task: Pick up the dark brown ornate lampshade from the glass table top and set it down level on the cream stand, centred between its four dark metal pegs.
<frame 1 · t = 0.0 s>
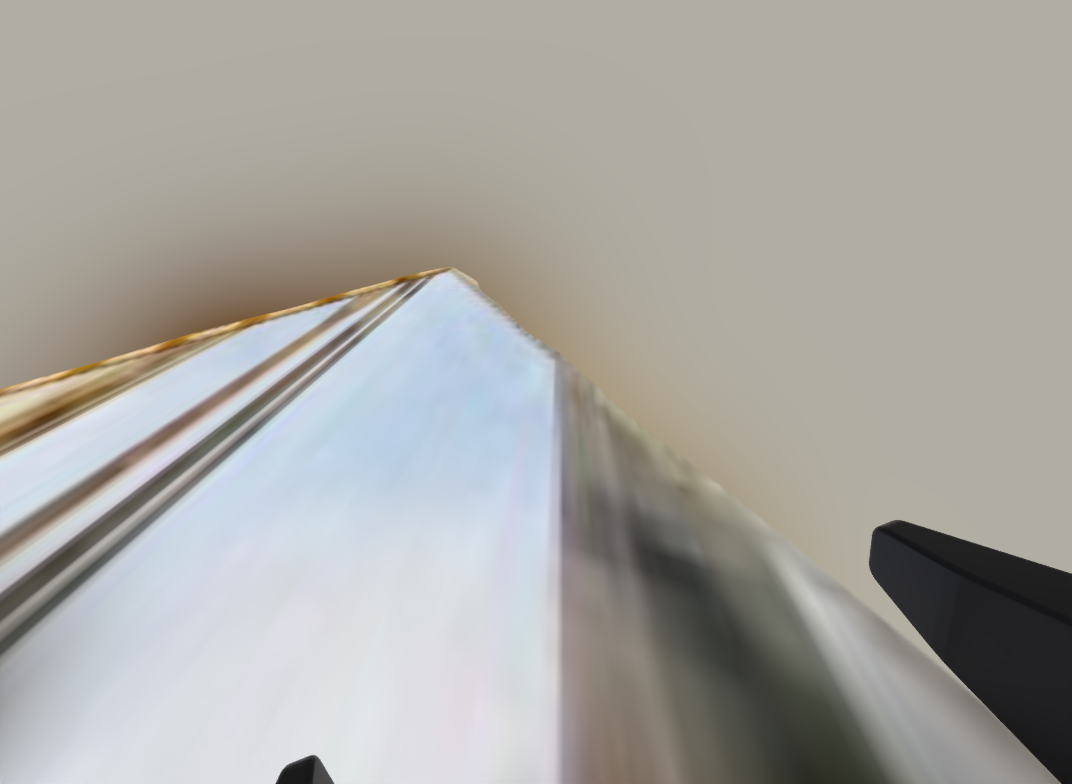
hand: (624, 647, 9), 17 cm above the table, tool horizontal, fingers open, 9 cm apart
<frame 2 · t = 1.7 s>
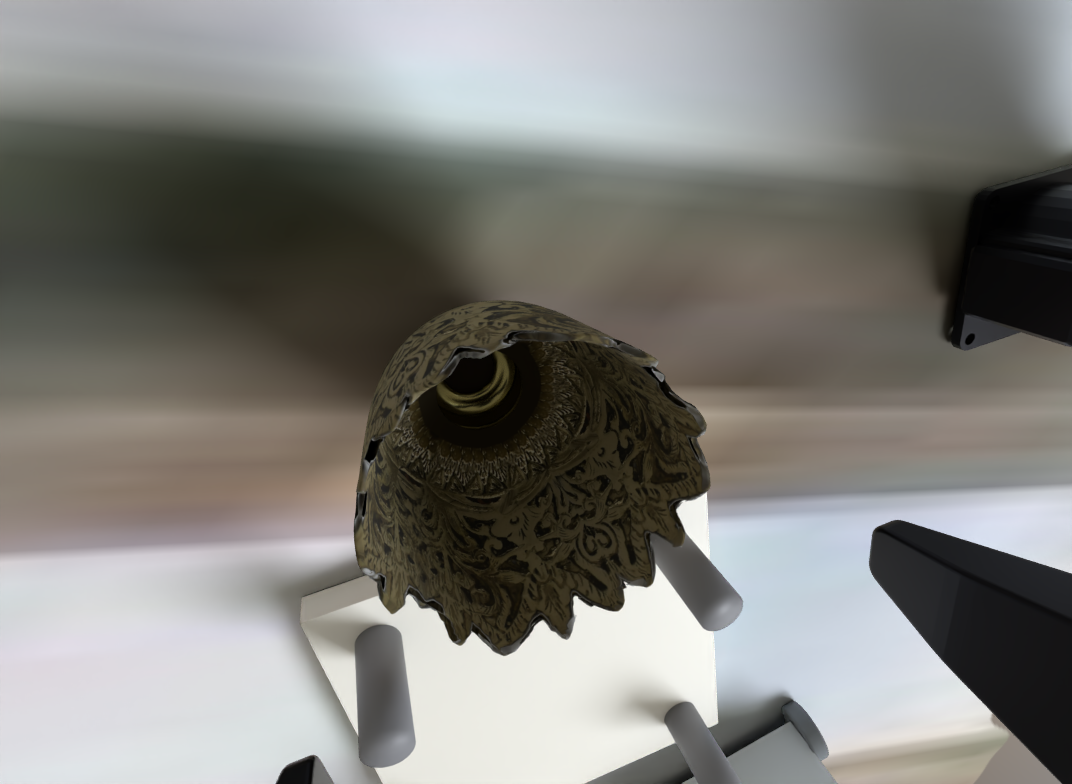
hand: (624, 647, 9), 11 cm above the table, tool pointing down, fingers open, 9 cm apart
dark brown ornate lampshade: (466, 366, 19), on the table
peg stand: (542, 660, 25), on the table
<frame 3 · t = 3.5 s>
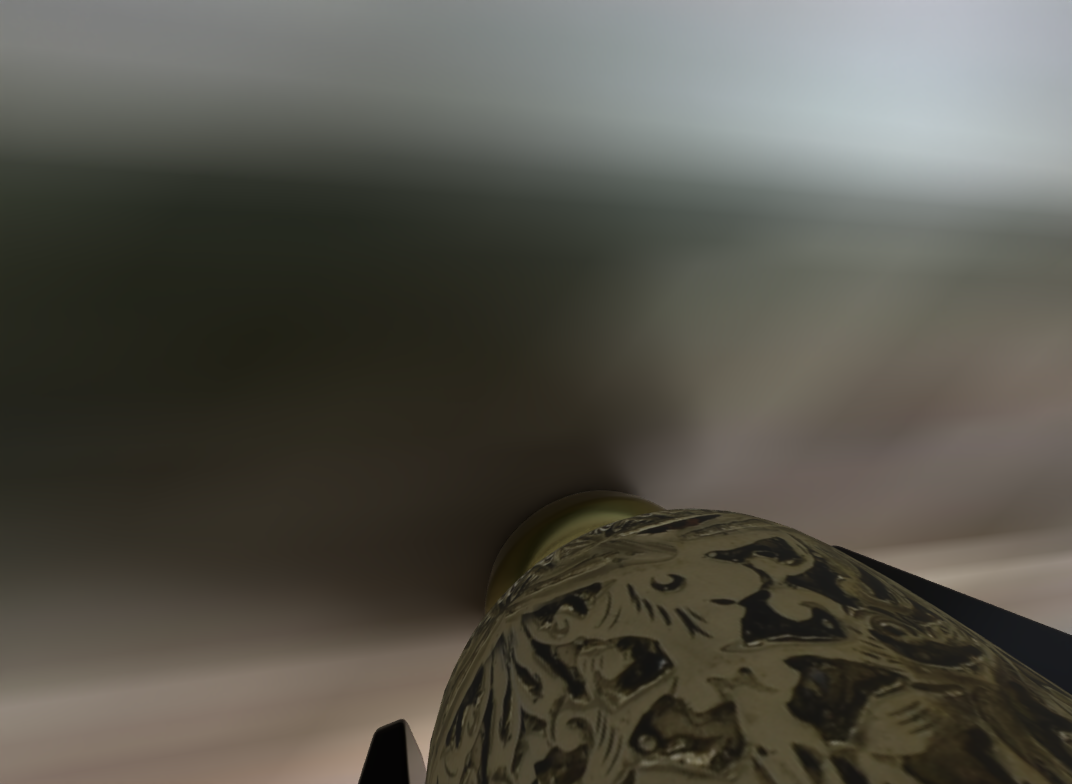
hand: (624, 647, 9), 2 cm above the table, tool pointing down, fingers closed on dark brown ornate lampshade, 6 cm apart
dark brown ornate lampshade: (570, 553, 11), on the table, touching gripper
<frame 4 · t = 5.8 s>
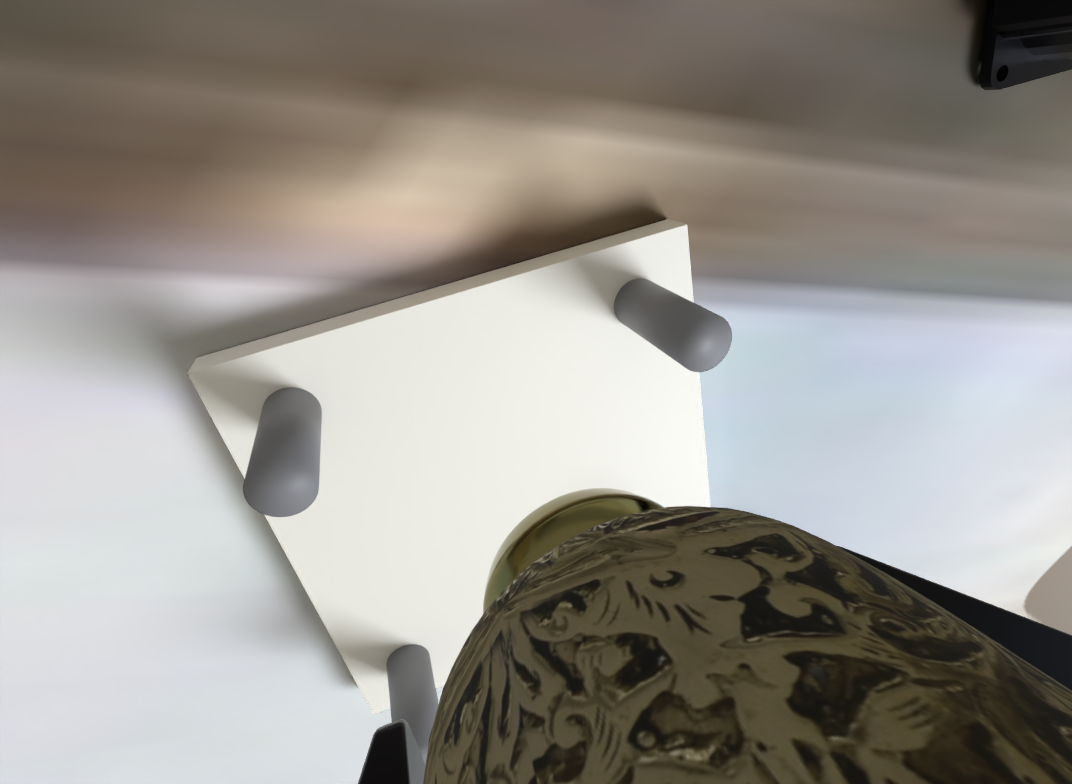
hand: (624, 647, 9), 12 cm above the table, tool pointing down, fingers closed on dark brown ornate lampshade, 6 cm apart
dark brown ornate lampshade: (569, 551, 11), point 10 cm above the table, touching gripper
peg stand: (505, 477, 22), on the table
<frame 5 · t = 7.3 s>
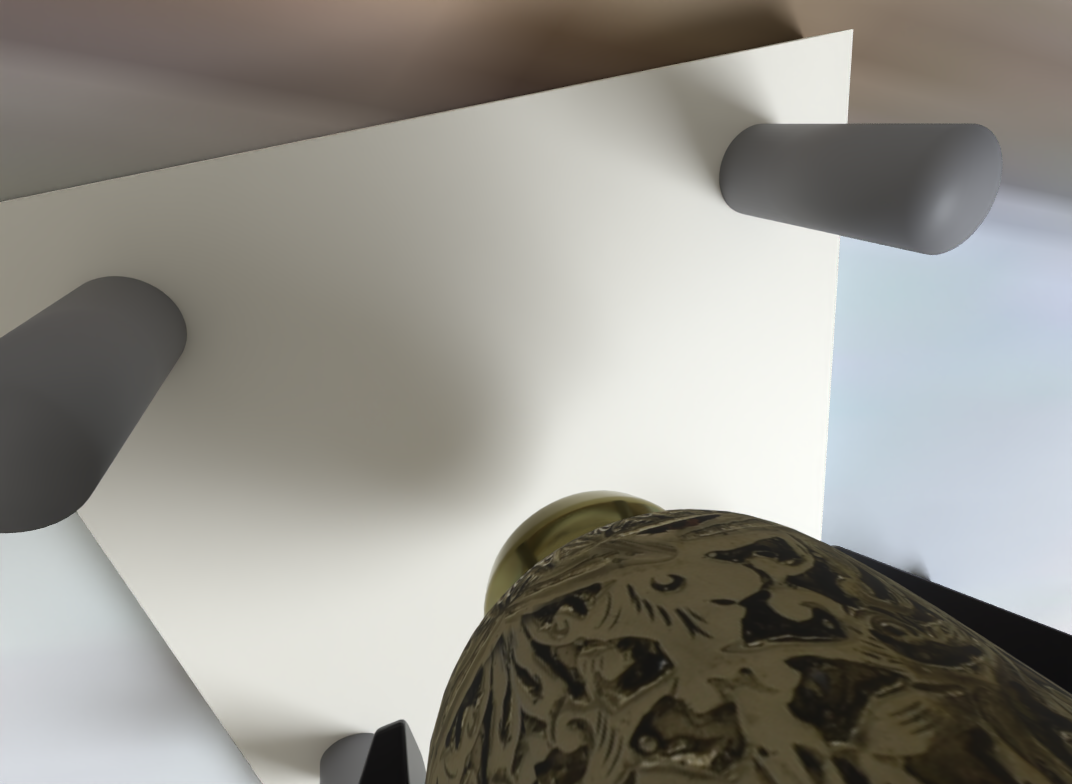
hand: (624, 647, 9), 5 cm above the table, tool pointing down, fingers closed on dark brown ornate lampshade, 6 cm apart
dark brown ornate lampshade: (570, 553, 11), point 3 cm above the table, touching gripper
peg stand: (517, 469, 14), on the table
when the fingers open (4 cm above the table, at t = 8.4 s): dark brown ornate lampshade drops 1 cm, resting on peg stand.
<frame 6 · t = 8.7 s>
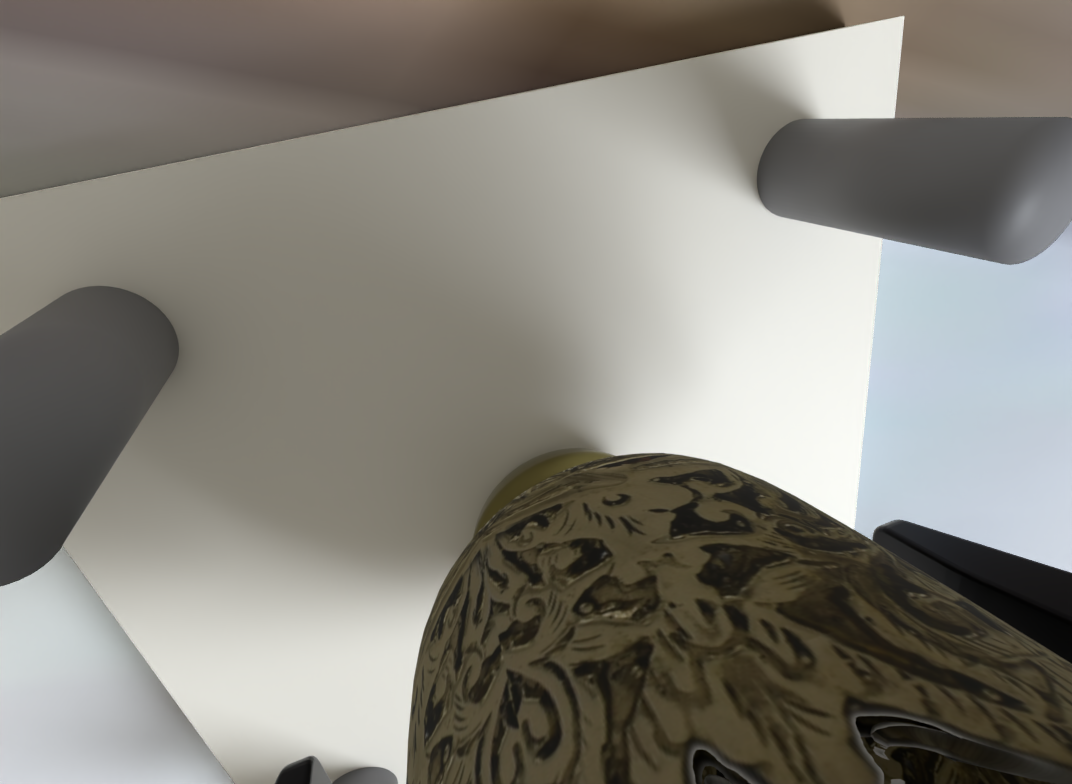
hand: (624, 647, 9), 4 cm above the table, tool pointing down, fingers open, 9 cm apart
dark brown ornate lampshade: (551, 509, 12), point 1 cm above the table, touching peg stand
peg stand: (533, 487, 13), on the table
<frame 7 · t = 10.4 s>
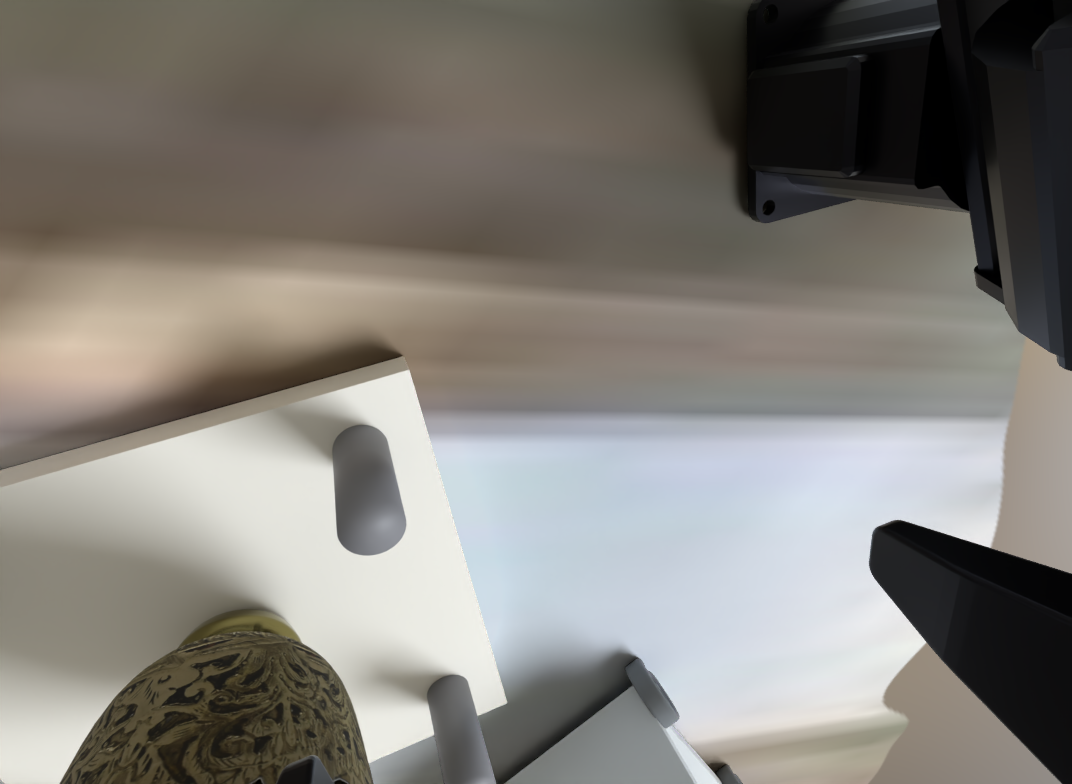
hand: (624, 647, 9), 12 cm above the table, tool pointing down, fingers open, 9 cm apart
dark brown ornate lampshade: (241, 640, 19), point 1 cm above the table, touching peg stand
peg stand: (244, 620, 20), on the table
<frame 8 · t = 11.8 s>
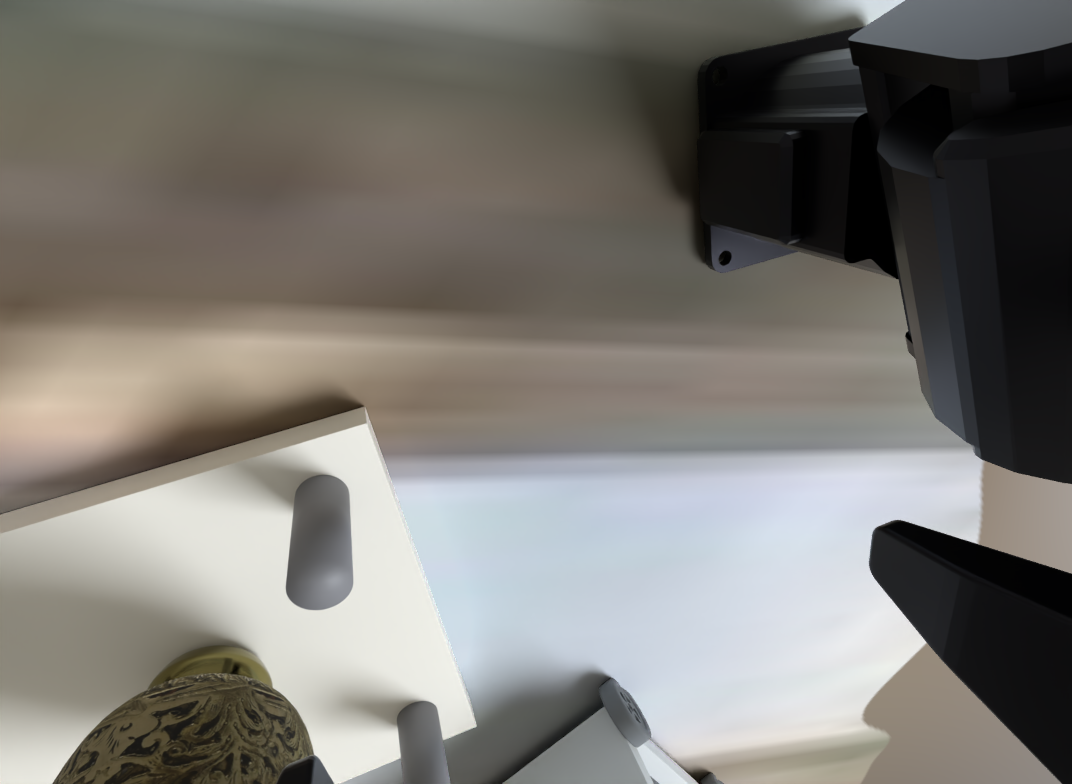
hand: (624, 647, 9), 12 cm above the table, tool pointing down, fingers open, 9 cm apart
dark brown ornate lampshade: (215, 671, 20), point 1 cm above the table, touching peg stand
peg stand: (219, 651, 21), on the table
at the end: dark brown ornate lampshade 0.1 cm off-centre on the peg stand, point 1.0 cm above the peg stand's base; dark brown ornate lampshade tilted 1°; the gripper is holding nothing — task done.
